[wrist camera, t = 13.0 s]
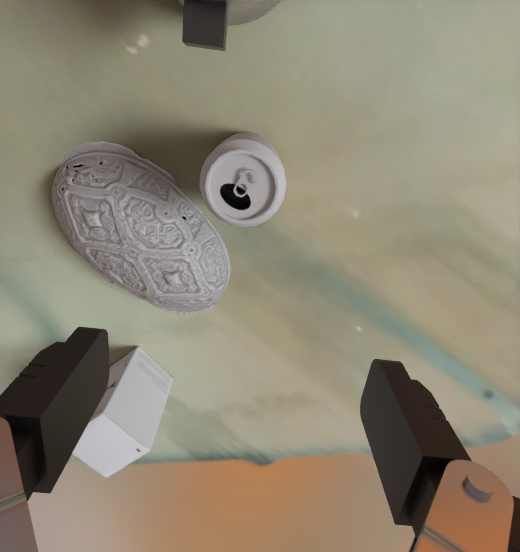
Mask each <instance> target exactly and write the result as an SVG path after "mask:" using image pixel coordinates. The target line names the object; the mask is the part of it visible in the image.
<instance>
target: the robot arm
mask: <svg viewBox="0 0 520 552" xmlns="http://www.w3.org/2000/svg"><path fill="white" fill-rule="evenodd" d="M108 381H109V346H108V333H107V331H106V330H105V329H97V328H87V327H78V328H77V329H76V330H75V331H74V332H73V333H72V335H71V336H70V337H69V338H68V340H67V341H66V342H65V343H64V342H56V343H54V344H52V345H50V346H49V347H47V348H45V349H43V350H42V351H40V352H39V353H38V354H37V355H36V356H35V358H34V359H33V360H32V361H31V362H30V363H29V366H26V368H25V369H24V370H23V371H22V372H21V373H20V375H19V377H16V379H15V380H14V381H13V382H12V383H11V384H10V385H9V386H8V387H7V389H6V390H5V391H4V392H3V393H2V394H1V395H0V552H38V549H37V544H36V540H35V535H34V531H33V526H32V522H31V517H30V512H29V508H28V503H27V501H28V500H29V498H30V496H31V494H32V493H33V492H40V493H51V491H52V489H53V487H54V485H55V483H56V482H57V480H58V478H59V476H60V474H61V473H62V471H63V469H64V467H65V465H66V463H67V462H68V460H69V458H70V456H71V454H72V452H73V451H74V449H75V447H76V445H77V443H78V441H79V440H80V438H81V436H82V434H83V432H84V430H85V429H86V427H87V425H88V423H89V421H90V419H91V418H92V416H93V414H94V412H95V410H96V408H97V407H98V405H99V403H100V401H101V399H102V397H103V396H104V394H105V391H106V389H107V385H108ZM360 414H361V420H362V423H363V426H364V429H365V432H366V435H367V438H368V442H369V445H370V448H371V451H372V454H373V457H374V460H375V463H376V466H377V470H378V473H379V476H380V479H381V482H382V485H383V488H384V491H385V494H386V497H387V500H388V504H389V507H390V510H391V513H392V516H393V519H394V522H395V524H396V525H408V526H412V527H413V530H414V532H415V538H414V540H413V542H412V545H411V547H410V550H409V552H520V499H519V498H516V497H514V496H512V495H511V492H510V491H509V489H508V488H507V486H506V485H505V484H504V483H503V482H502V481H501V479H500V478H499V477H498V476H496V475H495V474H494V473H492V472H491V471H490V470H488V469H487V468H485V467H483V466H481V465H479V464H477V463H474V462H472V461H471V459H470V457H469V456H468V454H467V453H466V450H465V449H464V447H463V445H462V444H461V442H460V440H459V439H458V437H457V435H456V434H455V432H454V430H453V429H452V427H451V425H450V424H449V422H448V421H446V417H445V415H444V414H443V412H442V410H441V409H439V405H438V403H437V402H436V400H435V398H434V397H433V395H432V393H431V392H430V391H429V390H428V389H426V388H425V387H424V386H423V385H422V384H421V383H420V382H419V381H418V380H411V379H410V377H409V375H408V373H407V371H406V370H405V368H404V366H403V364H402V363H401V362H399V361H390V360H381V359H374V360H373V362H372V364H371V367H370V370H369V374H368V377H367V381H366V384H365V387H364V391H363V394H362V398H361V404H360Z"/></svg>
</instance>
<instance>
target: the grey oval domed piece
mask: <svg viewBox="0 0 520 552" xmlns="http://www.w3.org/2000/svg"><path fill="white" fill-rule="evenodd" d="M98 158H99V159H98ZM100 162H102V163H103V164H101V165H102V166H101V165H99V163H100ZM60 163H61V165H60V166H59V169H58V171H57V173H56V176H55V179H54V182H53V185H52V203H53V207H54V211H55V214H56V217H57V219H58V222H59V224H60V226H61V228H62V229H63V231H64V233H65V234H66V236H67V237H68V238H69V240H70V243H71V245H72V246H73V247H74V248H75V249H76V250H77V251H78V252H79V253H80V254H81V255H82V256H85V257H86V258H87V259H88V260H89V261H90V262H91V263H92V264H93V266H94V267H95V268H96V269H98V270H99V271H100V273H101V274H102V276H103V277H104V278H105V279H107V280H108V281H109V282H110V283H114V284H118V285H120V286H121V287H124V288H126V289H127V290H128V291H130V292H131V293H133V294H135V295H137V296H139V297H140V298H141V297H142V298H143V299H144V300H147V301H149V302H150V303H151V304H152V305H155V307H157V308H160V309H164V310H166V311H169V312H170V311H172V312H176V313H183V314H186V313H188V314H189V313H192V314H193V313H198V312H201V311H205V310H207V309H210V308H212V307H214V305H215V304H216V302H217V300H218V298H219V296H220V295H221V293H222V292H223V291H224V289H225V288H226V286H227V284H228V282H229V280H230V272H231V264H230V259H229V255H228V251H227V249H226V246H225V244H224V242H223V240H222V238H221V237H220V234H219V233H218V232H217V230H216V229H215V227H214V226H213V224H212V223H211V222H210V221H209V219H208V218H207V217H206V216H205V215H204V214H203V212H202V211H201V210H200V209H199V208H198V207H197V205H196V204H195V203H194V202H193V201H192V200H191V199H190V198H189V197H188V196H187V195H186V194H185V193H184V192H183V191H182V190H181V189H180V187H179V186H178V185H177V183H176V182H175V180H174V178H173V176H172V175H170V174H169V173H168V172H166V171H165V170H163V169H161V168H160V167H159V166H157V165H156V164H154V163H152V162H151V161H149V160H148V159H144V158H141V157H139V156H138V155H137V154H136V153H135V152H133V151H132V150H131V149H129V148H127V147H124V146H122V145H119V144H115V143H109V142H103V141H99V142H96V143H93V142H88V143H85V144H82V145H79V146H77V147H76V148H73V151H71V152H69V153H68V155H66V156H65V157H64V160H62V162H60ZM104 163H105V164H104ZM79 164H83V166H82V167H76V168H73V166H75V165H76V166H77V165H79ZM67 166H68V169H66V167H67ZM74 170H77V171H78V172H74ZM92 176H94V177H92ZM73 178H74V179H75V181H74V182H72V179H73ZM93 178H94V179H93ZM74 179H73V180H74ZM92 179H93V181H92ZM95 179H97V180H98V182H94V181H97V180H95ZM63 187H64V190H63V191H62V188H63ZM179 207H181V208H179ZM164 212H166V213H167V214H165V213H164ZM182 216H184V217H185V218H186V219H187V220H184V219H183V218H182Z"/></svg>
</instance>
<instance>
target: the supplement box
mask: <svg viewBox="0 0 520 552" xmlns="http://www.w3.org/2000/svg"><path fill="white" fill-rule="evenodd" d="M173 381H174V379H173V378H172V377H171V376H170V375H169V374H168V373H167V372H166V371H164V370H163V369H162V368H161V367H160V366H159V365H158V364H157V363H156V362H155V361H154V360H153V359H152V358H151V357H150V356H149V355H147V354H146V353H145V352H144V351H143V350H142V349H141V348H140V347H136V348H135V349H134V350H132V351H131V352H130V353H129V354H127V355H126V356H125V357H123V358H122V359H121V360H119V361H118V362H116V363H115V364H114V365H112V366H111V367H109V381H108V385H107V389H106V391H105V394H104V396H103V397H102V399H101V401H100V403H99V405H98V407H97V408H96V410H95V412H94V414H93V416H92V418H91V419H90V421H89V423H88V425H87V427H86V429H85V430H84V432H83V434H82V436H81V438H80V440H79V441H78V443H77V445H76V447H75V449H74V451H73V452H72V454H74V455H75V456H76V457H78V458H79V459H80V460H82V461H83V462H85V463H86V464H88V465H89V466H90V467H92V468H93V469H94V470H96V471H97V472H98V473H100V474H101V475H102V476H103V477H105V478H108V477H109V476H111V475H113V474H114V473H116V472H117V471H119V470H121V469H122V468H124V467H125V466H127V465H129V464H131V463H132V462H133V461H135V460H137V459H138V458H140V457H141V456H143V455H145V454H146V453H148V452H150V450H151V447H152V444H153V441H154V438H155V435H156V432H157V429H158V426H159V423H160V420H161V417H162V414H163V411H164V408H165V405H166V402H167V398H168V395H169V393H170V389H171V386H172V383H173Z"/></svg>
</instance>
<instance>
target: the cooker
mask: <svg viewBox="0 0 520 552" xmlns="http://www.w3.org/2000/svg"><path fill="white" fill-rule="evenodd" d="M177 1H178V2H179V3H180V4H181V5H182V6H183V7H184V13H183V39H182V42H183V43H184V44H185V45H187V46H193V47H200V48H207V49H214V50H221V51H225V47H226V34H227V25H240V24H244V23H248V22H251V21H253V20H256V19H258V18H260V17H261V16H263V15H265V14H266V13H268V12H269V11H270V10H271V9H273V8H274V7H275V6H276V5H277V4H278V3H279V2H280V1H281V0H231V1H220V2H214V1H202V0H177Z"/></svg>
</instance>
